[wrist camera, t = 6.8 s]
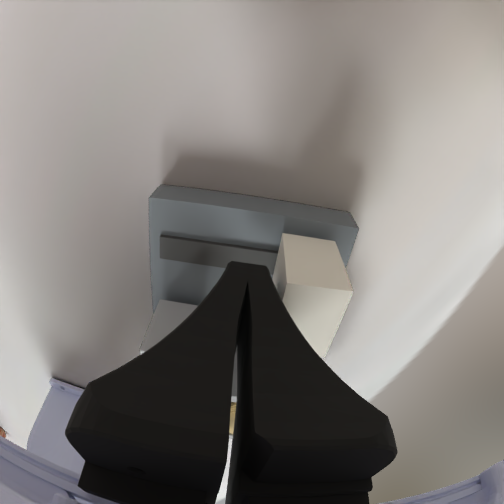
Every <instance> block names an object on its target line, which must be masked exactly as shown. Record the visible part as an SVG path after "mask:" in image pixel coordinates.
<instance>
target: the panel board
mask: <svg viewBox="0 0 504 504" xmlns="http://www.w3.org/2000/svg"><path fill="white" fill-rule="evenodd" d="M358 230H359V228H358V226H357V224H356V222H355V221H354V219H353V217H352V215H351V214H350V213H349V212H344V211H339V210H333V209H328V208H322V207H317V206H311V205H305V204H299V203H293V202H287V201H281V200H275V199H268V198H262V197H255V196H248V195H242V194H234V193H227V192H220V191H212V190H204V189H196V188H188V187H180V186H171V185H162V184H161V185H160V186H159V187H158V188H157V189H156V190H155V191H154V192H153V193H152V195H151V196H150V197H149V245H150V270H151V287H152V302H153V314H154V312H155V310H156V307H157V305H158V303H159V300H160V299H162V300H167V301H173V302H179V303H185V304H191V305H197V306H198V305H199V304H200V303H201V302H202V301H203V300H204V299H205V297H206V296H207V295H208V294H209V292H210V291H211V290H212V288H213V287H214V286H215V284H216V283H217V282H218V280H219V279H220V277H221V276H222V274H223V272H224V271H225V269H226V267H227V264H228V263H229V262H231V261H237V262H243V263H250V264H258V265H265V266H267V268H268V269H269V272H270V275H271V278H273V274H274V269H275V265H276V260H277V256H278V251H279V246H280V242H281V237H282V233H286V234H293V235H299V236H305V237H312V238H318V239H324V240H331V241H335V242H336V245H337V247H338V250H339V253H340V255H341V258H342V261H343V263H344V266H345V268H346V266H347V263H348V260H349V257H350V254H351V251H352V248H353V245H354V242H355V239H356V236H357V233H358ZM231 402H237V347H236V352H235V358H234V370H233V383H232V397H231ZM229 439H233V434H231V433H229Z"/></svg>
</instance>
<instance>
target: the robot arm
mask: <svg viewBox="0 0 504 504" xmlns="http://www.w3.org/2000/svg"><path fill="white" fill-rule="evenodd" d="M236 347H237V402H236V411H235V421H234V431H233V440H232V449H231V458H230V467H229V476H228V485H227V493H226V502H225V504H369V497H368V492H369V491H371V490H372V487H373V486H372V480H371V477H372V476H374V475H375V474H376V473H378V472H379V471H380V470H382V469H384V468H385V467H386V466H387V465H389V464H390V463H391V462H392V461H393V460H394V458H395V457H396V455H397V447H396V443H395V438H394V434H393V430H392V428H391V425H390V422H389V419H388V416H386V415H385V414H384V413H382V412H381V411H380V410H378V409H377V408H375V407H374V406H373V405H371V404H370V403H369V402H367V401H366V400H365V399H363V398H362V397H361V396H359V395H358V394H357V393H356V392H355V391H354V390H353V389H351V388H350V387H349V386H348V385H347V384H346V383H345V382H343V381H342V380H341V379H340V378H339V377H338V376H337V375H336V374H335V373H334V372H333V371H332V369H331V368H330V367H329V366H328V365H327V364H326V363H325V362H324V361H323V360H322V359H321V358H320V357H319V355H318V354H317V353H316V352H315V351H314V349H313V348H312V347H311V345H310V344H309V343H308V341H307V340H306V339H305V337H304V336H303V335H302V333H301V332H300V330H299V329H298V327H297V326H296V324H295V322H294V321H293V319H292V318H291V316H290V314H289V312H288V311H287V309H286V307H285V305H284V303H283V301H282V299H281V298H280V296H279V294H278V291H277V289H276V287H275V285H274V283H273V280H272V278H271V275H270V272H269V269H268V268H267V266H265V265H258V264H250V263H243V262H237V261H231V262H229V263H228V264H227V267H226V269H225V271H224V272H223V274H222V276H221V277H220V279H219V280H218V282H217V283H216V284H215V286H214V287H213V288H212V290H211V291H210V292H209V294H208V295H207V296H206V297H205V299H204V300H203V301H202V302H201V303H200V304H199V305H198V306H197V308H196V309H195V310H194V311H193V312H192V313H191V314H190V315H189V316H188V317H187V318H186V319H185V320H184V321H183V322H182V323H181V324H180V325H179V326H177V327H176V328H175V329H174V330H173V331H172V332H171V333H169V334H168V335H167V336H166V337H164V338H163V339H162V340H161V341H159V342H158V343H157V344H155V345H154V346H153V347H151V348H150V349H148V350H147V351H145V352H144V353H142V354H141V355H139V356H138V357H136V358H134V359H133V360H131V361H130V362H128V363H127V364H125V365H123V366H121V367H120V368H118V369H116V370H114V371H112V372H110V373H108V374H106V375H104V376H102V377H100V378H98V379H96V380H94V381H92V382H89V384H88V385H87V387H86V388H85V389H82V388H79V387H76V386H73V385H70V384H67V383H64V382H62V381H59V380H56V379H53V378H51V379H50V381H49V383H50V385H51V386H52V387H51V389H50V391H49V393H48V395H47V397H46V399H45V401H44V403H43V406H42V408H41V410H40V412H39V414H38V416H37V419H36V421H35V423H34V425H33V428H32V430H31V432H30V435H29V438H28V443H27V450H25V449H23V448H22V447H20V446H18V445H16V444H14V443H12V442H11V441H9V440H7V439H5V438H4V437H2V436H0V504H215V501H216V497H217V494H218V493H219V489H220V485H221V481H222V478H223V474H224V470H225V466H226V462H227V452H228V442H229V429H230V412H231V397H232V383H233V370H234V358H235V352H236ZM378 504H504V460H502V461H500V462H498V463H496V464H494V465H493V466H491V467H489V468H487V469H486V470H485V471H483V472H482V473H481V474H480V475H478V476H475V477H473V478H470V479H467V480H465V481H462V482H459V483H456V484H453V485H450V486H447V487H444V488H441V489H437V490H434V491H430V492H427V493H423V494H419V495H416V496H411V497H407V498H403V499H398V500H394V501H389V502H384V503H378Z"/></svg>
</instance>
